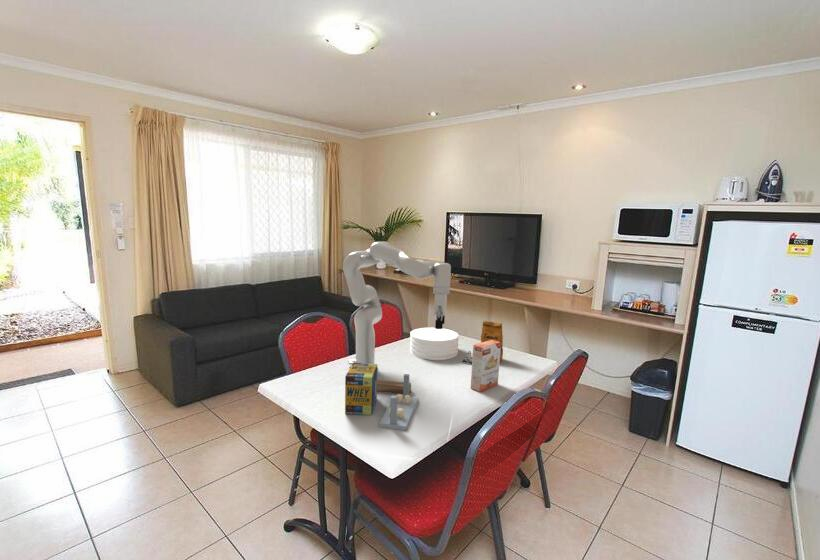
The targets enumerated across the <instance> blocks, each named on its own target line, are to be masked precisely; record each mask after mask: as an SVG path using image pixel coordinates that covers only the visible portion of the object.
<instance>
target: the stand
mask: <svg viewBox="0 0 820 560" xmlns="http://www.w3.org/2000/svg"><path fill="white" fill-rule="evenodd" d="M403 382H404V386H403V394H395V395H393V394H392V395H391V396H390V404H388V407H387V408H386V410H385V412H384V414H383V416H382V417H381V419H380V421H379V423H378V427H379V428H385V429H393V430H400V431H407V428H408V427H409V424H410V421H411V419H412V417H413V414H414V412H415V410H416V407H417V405H418V403H419V397H413V396H412V397H411V395H410V394H409V383H410V374H409V373H404V375H403Z"/></svg>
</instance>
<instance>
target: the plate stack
mask: <svg viewBox="0 0 820 560" xmlns="http://www.w3.org/2000/svg"><path fill="white" fill-rule="evenodd" d="M409 334H410V335H409V337H410V338H409V353H410V354H411V355H412V356H414V357H416V358H420V359H425V360H431V361H440V360H441V361H443V360H449V359H452V358H455V357H456V356H458V355H459V352H458V351H459V333H458V332H457V331H454V330H451V329H448V328H443V327H442V329H435V327H420V328H415V329H413V330H411V331H410V332H409Z"/></svg>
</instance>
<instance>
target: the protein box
mask: <svg viewBox="0 0 820 560" xmlns="http://www.w3.org/2000/svg"><path fill="white" fill-rule="evenodd" d="M344 377H345V379H344V380H345V381H344V385H345V386H344V387H345V388H344V389H345V390H344V392H345V394H344V398H345V399H344V403H345V404H344V413H345V415H353V416H354V415H357V416H372V414H373V411H374V407H375V406H376V405H375V404H376V401H377V393H378V392H377V380H378V364H377V363H374V364H367V363H353V364H351V365H350V368H349V369H348V371H347V372H346V375H345V376H344Z"/></svg>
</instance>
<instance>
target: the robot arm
mask: <svg viewBox="0 0 820 560" xmlns="http://www.w3.org/2000/svg"><path fill="white" fill-rule="evenodd" d="M380 262H382V263H385V264H387V265H390V266H392V267H394V268H396V269H398V270H399V271H401V272H402V273H404V274H405V275H408V276H411V277H414V278H415V279H418V280H424V279H425V280H426V279H428V278H433V289H432V290H433V291H432V293H433V294H434V305H433V315H434V316H435V325H434V326H435V327H434V328H435V329H442V328H443V325H445V322H446V321H445V318H446V317H445V314H446V311H447V301H448V299H447V298H448V295H449V294H451V293H450V290H451V275H452V274H451V272H452V271H451V270H452V266H451V264H450V263H448V262H434V261H430V260H426V261H419V260H417V259H414V258H411V257H409V256H408V255H406V252H405V251H404V250H402V249H400V248H398V247H395V246H393V245H392V244H391V243H390V242H389V241H376V242H373V243H372V244H371V245H370V247H369V248H368V249H366V250H358V251H352V252H350V253H349V254H348V255H346V257H345V258H344V260H343V262H342V270H343V274H344V277H345V281H346V284H347V289H348V292H349V295H350V300H351V302H352V304H353V305H355V306H357V307H363V308H360V309H359V310H357V312H356V313H355V315H354V318H353V319H354V326H355V327H354V328H355V359H348V360H347V363H348V365H352V364H353V363H367V364H375V360H376V359H375V351H376V349H375V347H376V346H375V345H376V337H375V336H376V334H375V333H376V332H375V329H374V325H375V324H377V323H378V322H380V321H381V319H382V318H383V311H382V309H383V308H382V306H381V303H380V299H379V296H378V295H379V294H378V292H377V290H376V288H375V287H374V286H372V285H369V284H366V282H365V279H364V275H363V274H362V272H361V271H360V269H363V268H369V267H372V266H375V265H376V264H378V263H380Z"/></svg>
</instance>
